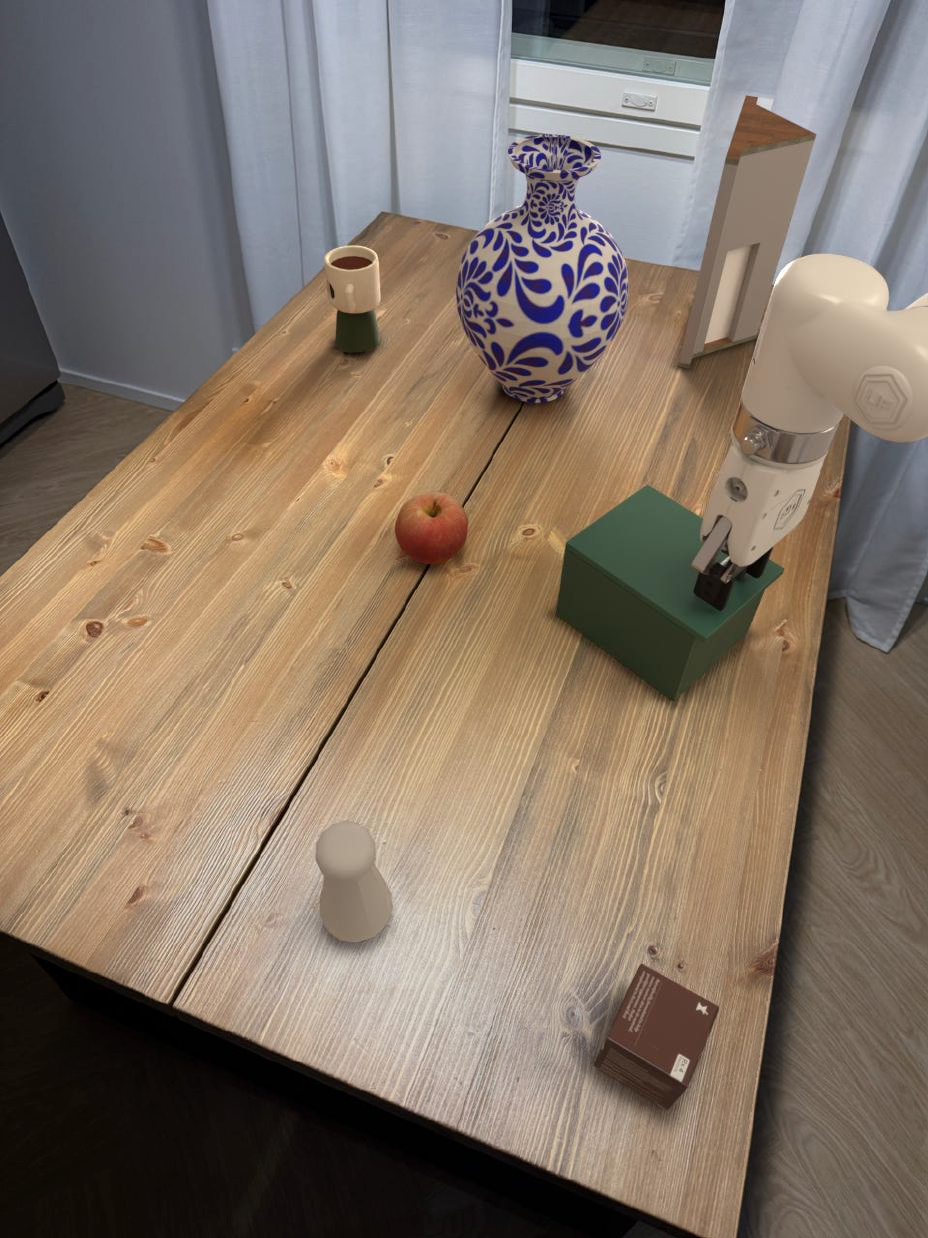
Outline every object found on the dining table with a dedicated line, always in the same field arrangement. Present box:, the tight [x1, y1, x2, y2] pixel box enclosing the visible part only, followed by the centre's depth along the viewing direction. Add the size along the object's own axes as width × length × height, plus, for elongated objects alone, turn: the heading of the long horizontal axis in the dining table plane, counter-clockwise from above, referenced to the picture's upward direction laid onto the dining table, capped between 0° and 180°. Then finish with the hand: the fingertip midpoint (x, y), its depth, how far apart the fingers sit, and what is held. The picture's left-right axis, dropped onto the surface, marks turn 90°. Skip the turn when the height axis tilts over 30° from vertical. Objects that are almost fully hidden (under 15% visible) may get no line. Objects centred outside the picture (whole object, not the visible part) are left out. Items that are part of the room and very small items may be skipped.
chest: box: [555, 548, 766, 702], centre depth 90 cm, size 16×13×10 cm
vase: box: [455, 133, 630, 404], centre depth 110 cm, size 22×22×30 cm
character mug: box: [323, 245, 381, 353], centre depth 122 cm, size 11×7×13 cm, turn 179°
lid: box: [564, 483, 785, 643], centre depth 84 cm, size 17×13×5 cm
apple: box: [394, 491, 469, 565], centre depth 97 cm, size 8×8×8 cm
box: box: [593, 963, 720, 1111], centre depth 63 cm, size 6×6×7 cm
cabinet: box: [677, 95, 817, 369], centre depth 120 cm, size 21×10×28 cm, turn 162°
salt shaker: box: [315, 820, 393, 944], centre depth 67 cm, size 6×6×13 cm
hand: (727, 583), depth 82 cm, fingers closed on lid, 5 cm apart
